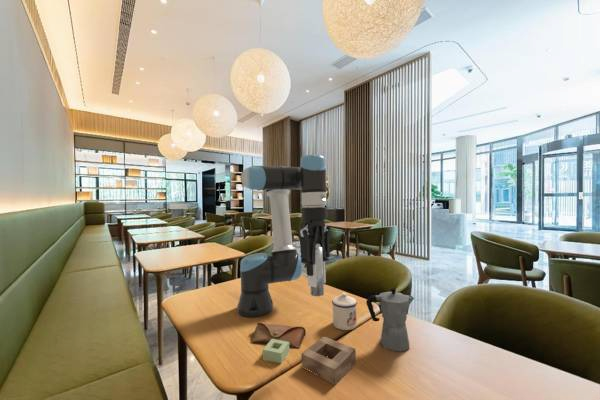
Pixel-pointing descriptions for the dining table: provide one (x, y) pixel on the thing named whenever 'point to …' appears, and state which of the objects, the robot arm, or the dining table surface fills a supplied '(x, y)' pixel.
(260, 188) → the robot arm
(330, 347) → the brown square holed block
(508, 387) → the dining table surface
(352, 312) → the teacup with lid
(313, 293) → the silver metal cylinder
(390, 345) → the coffeepot
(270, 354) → the pale green holed block
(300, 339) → the sunglasses case
